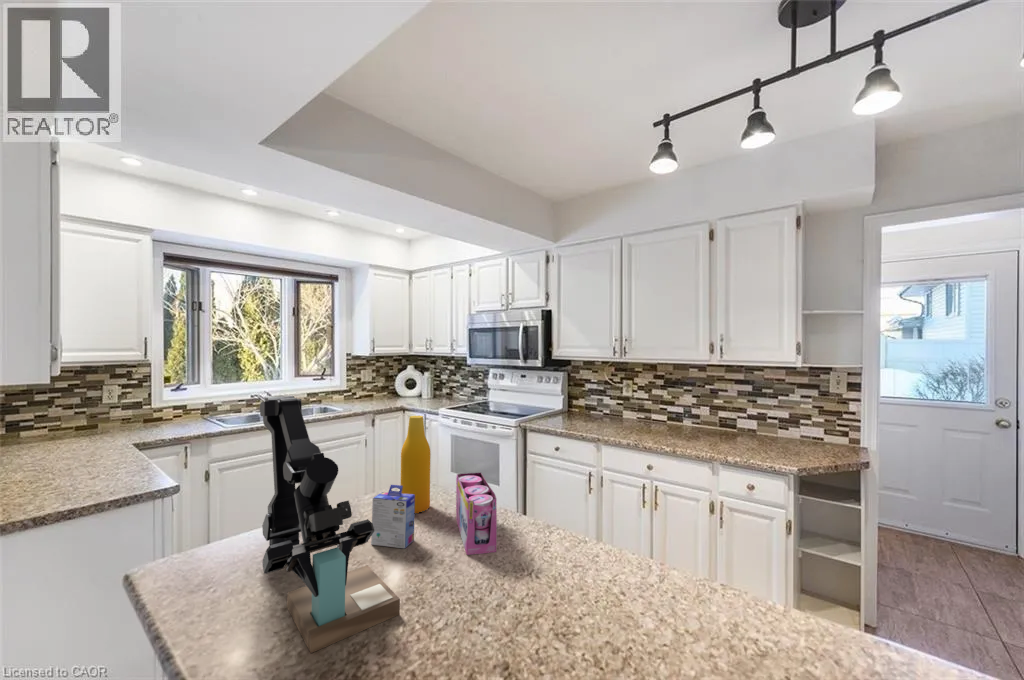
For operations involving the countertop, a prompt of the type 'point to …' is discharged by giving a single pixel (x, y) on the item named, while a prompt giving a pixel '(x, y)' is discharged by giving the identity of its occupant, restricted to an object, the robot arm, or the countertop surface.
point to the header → (363, 609)
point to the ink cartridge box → (393, 518)
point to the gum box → (476, 513)
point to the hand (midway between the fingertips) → (331, 590)
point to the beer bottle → (416, 464)
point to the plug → (329, 586)
